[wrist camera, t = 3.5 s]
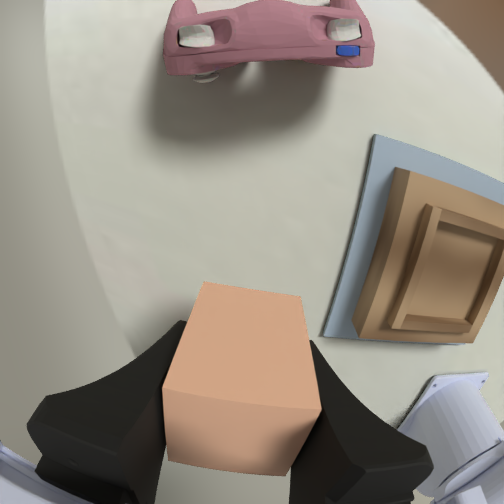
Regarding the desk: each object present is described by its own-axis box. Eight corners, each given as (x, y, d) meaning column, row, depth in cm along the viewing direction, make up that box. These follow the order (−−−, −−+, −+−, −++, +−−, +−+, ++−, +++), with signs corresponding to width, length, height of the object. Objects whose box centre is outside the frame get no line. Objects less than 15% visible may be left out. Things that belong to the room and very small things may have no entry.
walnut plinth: (460, 328, 19) (477, 349, 16) (351, 320, 19) (362, 346, 16) (506, 206, 15) (530, 217, 13) (395, 166, 15) (417, 172, 13)
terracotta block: (280, 367, 14) (285, 476, 8) (197, 355, 14) (168, 460, 8) (300, 296, 12) (321, 409, 7) (203, 281, 12) (162, 387, 7)
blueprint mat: (462, 341, 20) (465, 344, 20) (322, 332, 20) (323, 336, 19) (518, 191, 15) (521, 192, 15) (374, 134, 15) (376, 134, 15)
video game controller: (185, 67, 16) (152, 104, 11) (173, 0, 12) (130, 2, 7) (348, 58, 15) (395, 92, 10) (348, -9, 12) (400, -9, 7)
